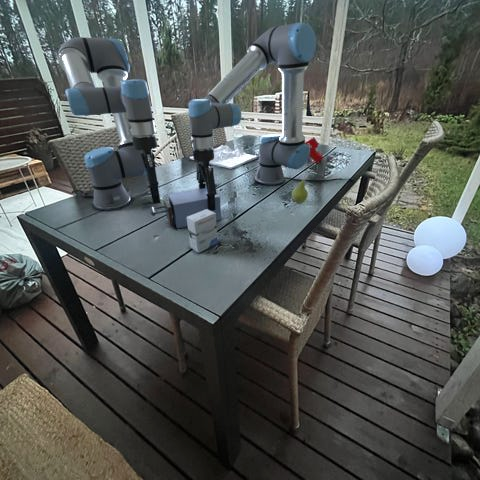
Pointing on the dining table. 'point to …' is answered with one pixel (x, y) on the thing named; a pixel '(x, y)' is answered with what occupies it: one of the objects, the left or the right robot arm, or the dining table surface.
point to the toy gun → (313, 153)
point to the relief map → (230, 157)
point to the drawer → (167, 210)
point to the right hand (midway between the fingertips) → (207, 204)
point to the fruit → (300, 192)
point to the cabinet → (191, 205)
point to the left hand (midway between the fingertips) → (156, 202)
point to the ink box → (202, 230)
